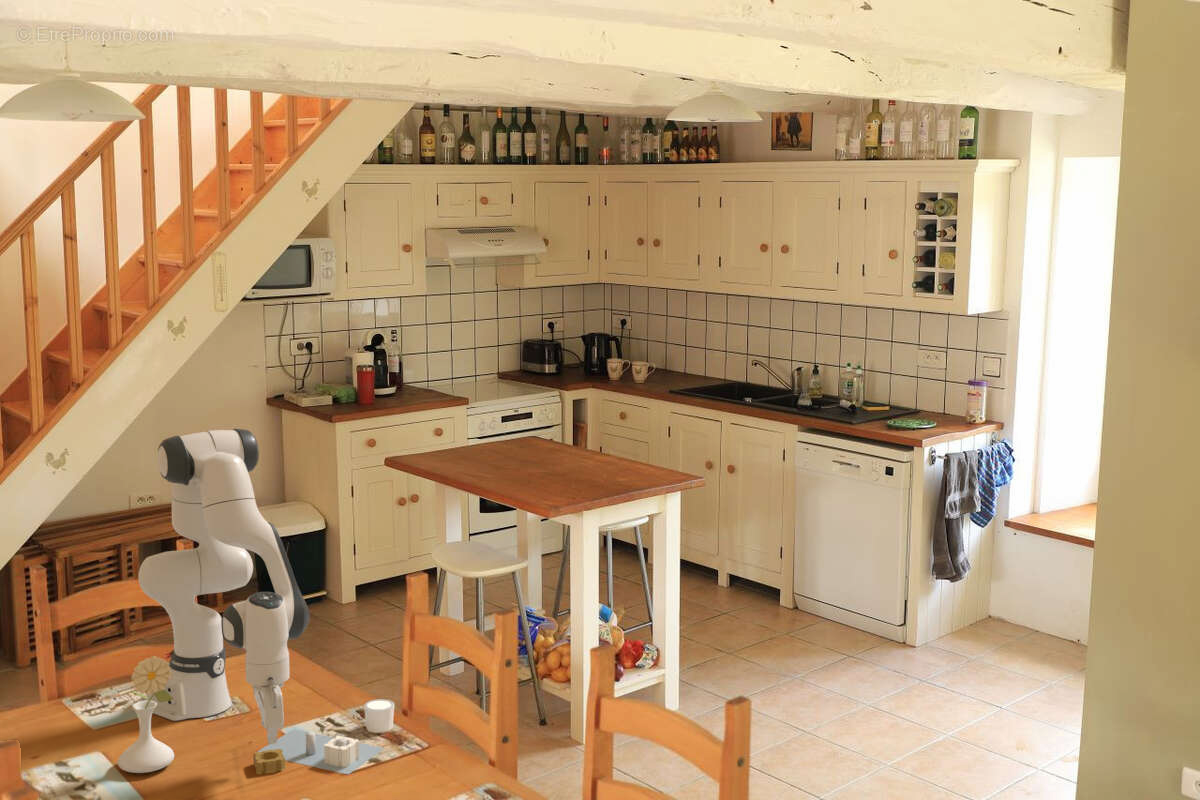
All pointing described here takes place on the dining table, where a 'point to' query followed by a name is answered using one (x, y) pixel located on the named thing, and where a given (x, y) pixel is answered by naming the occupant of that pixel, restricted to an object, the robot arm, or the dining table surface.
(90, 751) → the dining table surface
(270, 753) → the gear
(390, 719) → the white cup
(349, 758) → the white gear
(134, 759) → the flower in vase
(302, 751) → the board
